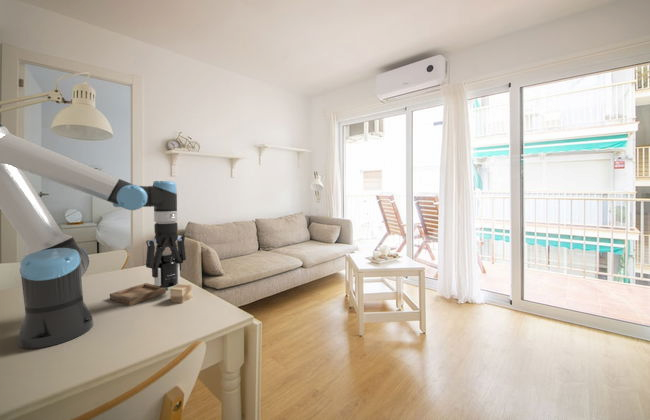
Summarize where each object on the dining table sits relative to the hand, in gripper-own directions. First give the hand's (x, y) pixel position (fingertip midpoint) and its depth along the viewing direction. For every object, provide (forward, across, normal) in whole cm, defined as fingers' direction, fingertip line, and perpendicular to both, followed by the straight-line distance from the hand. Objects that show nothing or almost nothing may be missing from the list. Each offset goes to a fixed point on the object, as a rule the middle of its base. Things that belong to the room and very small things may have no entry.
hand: (167, 282), depth 104 cm
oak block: (+5, 0, -8) cm, 10 cm away
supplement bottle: (+1, 0, 0) cm, 1 cm away
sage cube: (+5, +6, +7) cm, 10 cm away
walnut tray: (+5, -5, +10) cm, 12 cm away
